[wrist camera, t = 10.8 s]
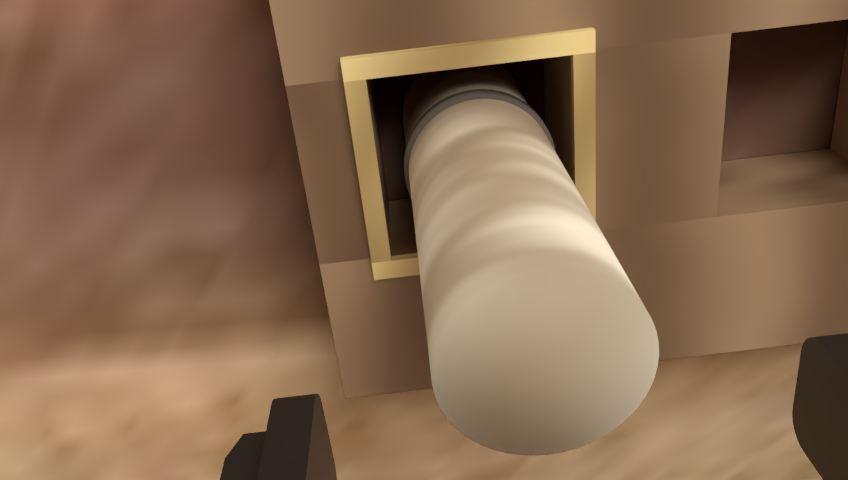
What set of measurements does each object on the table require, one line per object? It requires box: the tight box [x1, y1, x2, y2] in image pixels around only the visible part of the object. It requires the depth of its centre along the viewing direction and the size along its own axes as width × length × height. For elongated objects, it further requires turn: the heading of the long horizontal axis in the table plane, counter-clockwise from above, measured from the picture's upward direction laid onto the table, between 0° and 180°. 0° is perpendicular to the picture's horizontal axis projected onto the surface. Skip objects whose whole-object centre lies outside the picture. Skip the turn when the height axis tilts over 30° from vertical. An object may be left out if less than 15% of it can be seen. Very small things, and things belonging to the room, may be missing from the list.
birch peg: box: [403, 64, 659, 455], centre depth 20 cm, size 4×4×14 cm
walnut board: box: [269, 0, 848, 399], centre depth 24 cm, size 20×16×4 cm
